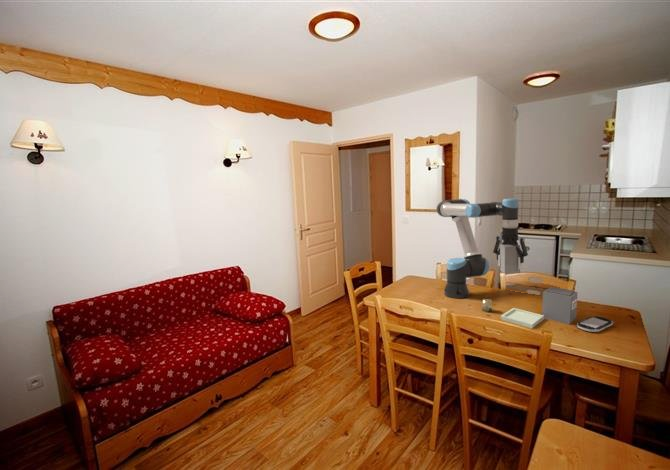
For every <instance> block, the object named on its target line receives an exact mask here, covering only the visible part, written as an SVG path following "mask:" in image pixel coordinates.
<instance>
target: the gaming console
mask: <svg viewBox="0 0 670 470" xmlns="http://www.w3.org/2000/svg"><path fill="white" fill-rule="evenodd" d="M613 324H614V321H613V320H611V319H609V318H606V317H603V316H597V315H595V316H589V317H588V318H585V319H583V320H580V321H578V322H577V323H576V327H577V329H579V330H581V331H584V332H587V333H592V334H593V333H600V332H602V331H604V330H605V329H607V328H609V327H612V326H613Z"/></svg>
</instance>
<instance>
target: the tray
mask: <svg viewBox="0 0 670 470" xmlns="http://www.w3.org/2000/svg"><path fill="white" fill-rule="evenodd" d="M500 320H501V321H504V322H508V323H512V324H515V325H518V326H521V327H522V326H523V327H526V328H530V329H533V328H534V327H536V326H537V325H539V324H540V323H541V322H542V321H543V320H545V318H544V315H542V314H539V313H536V312H531V311H527V310H524V309H519V308H515V307H513V308H511V309H510V310H507V311H506V312H504V313H503V314H501V315H500Z"/></svg>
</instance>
